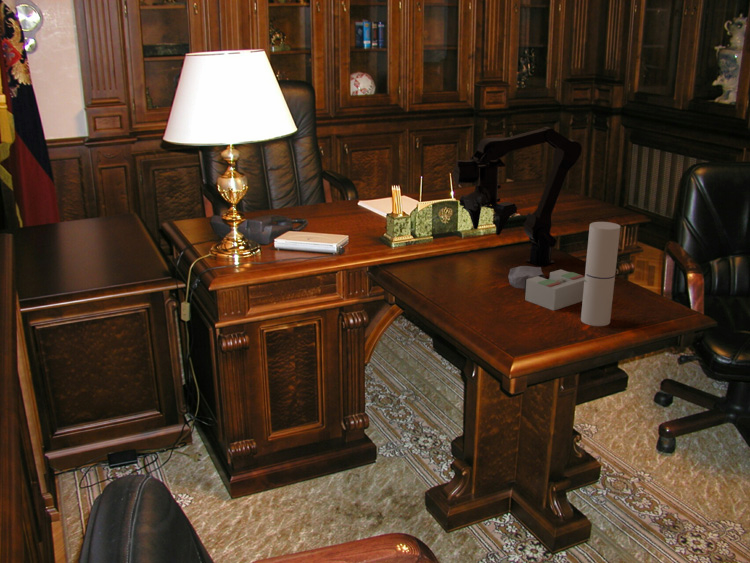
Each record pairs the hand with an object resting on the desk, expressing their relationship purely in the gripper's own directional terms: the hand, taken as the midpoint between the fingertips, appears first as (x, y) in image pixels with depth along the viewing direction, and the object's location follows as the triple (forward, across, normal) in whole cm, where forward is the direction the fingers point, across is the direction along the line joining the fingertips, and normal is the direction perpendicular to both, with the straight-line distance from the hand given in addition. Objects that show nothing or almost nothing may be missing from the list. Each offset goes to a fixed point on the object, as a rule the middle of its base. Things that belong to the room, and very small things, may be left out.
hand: (486, 232), depth 225 cm
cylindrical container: (+12, +48, -11) cm, 51 cm away
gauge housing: (+11, +32, -7) cm, 35 cm away
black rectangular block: (+11, +28, -6) cm, 31 cm away
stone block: (+12, +17, -2) cm, 21 cm away
